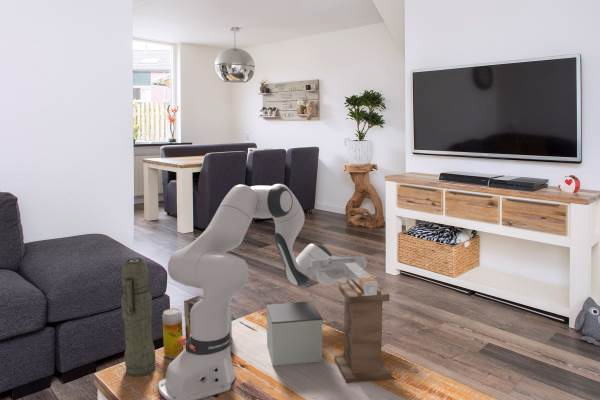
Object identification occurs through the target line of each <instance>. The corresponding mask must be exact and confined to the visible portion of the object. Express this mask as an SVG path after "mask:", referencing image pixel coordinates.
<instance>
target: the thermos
mask: <svg viewBox="0 0 600 400" xmlns="http://www.w3.org/2000/svg"><path fill="white" fill-rule="evenodd" d="M149 279H150V278H149V268H148V265H147V262H146V260H145V259H143V258H141V257H140V258H139V257H136V258H135V257H134V258H129V259H126V260H125V261H123V263H122V268H121V285H122V289H123V290H122V296H121V300H120V303H121V316H122V318H121V319H122V320H123V321H124V322H123V323H124V339H125V350H124V363H125V364H124V365H125V372H126V374H127V375H128V376H131V377H143V376H146V375H149V374H151V373H153V372H154V370H156V350H155V345H154V342H153V341H154V340H153V327H152V326H153V325H152V316H153V314H154V313H153V297H152V295H151V292H150V288H149V284H150V282H149V281H150V280H149Z"/></svg>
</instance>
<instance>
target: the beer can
mask: <svg viewBox="0 0 600 400" xmlns="http://www.w3.org/2000/svg"><path fill="white" fill-rule="evenodd" d="M182 317H183V315H182V312H181V310H180V309H179V308H168V309H165V310H164V311H163V314H162V317H161V318H162V332H163V333H162V335H163V337H162V338H163V352H164V356H166V358H169V359H175V358H176V357H177V356H178V355H179V354H180V353H181V352H182V351H183V350H184V345H182V344H181V343H179V339H180V337H182V336H183V335H184V334H183V318H182ZM183 337H184V336H183Z"/></svg>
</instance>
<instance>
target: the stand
mask: <svg viewBox="0 0 600 400" xmlns="http://www.w3.org/2000/svg"><path fill="white" fill-rule="evenodd" d="M338 291H339V292H340V294H341V295H342V296H343V297H344V314H343V315H344V318H343V319H344V322H343V324H344V327H343V330H344V331H343V339H344V340H343V354H339V355H334V359H333V361H334V362H335V364H336V367H337V368H338V370H339V372H340V373H341V376H342V377H343V380H344V382H345V384H352V383H362V382H371V381H379V380H390V379H392V378H393V377H392V376H393V375H392V374H393V373H392V372H391V371H390V370H389V368H388V366H387V365H386V364H385V362H384V361H383V359H382V341H383V340H382V339H383V338H382V334H383V302H389V301H390V293H389V292H388V291H386V290H385V289H384V287H383V286H382V285H380V284H379V283H378V282H377V295H371V296H363V295H362V292H361V291H360V290H359V288H358V287H357V286H356V285H355V284H354V283H353V282H352V281H351V280H350V279H347V278H346V282H342V283H338Z"/></svg>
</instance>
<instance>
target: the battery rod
mask: <svg viewBox="0 0 600 400" xmlns="http://www.w3.org/2000/svg"><path fill="white" fill-rule="evenodd" d="M344 276H345V278H346V280H347V279H350V280H351V281H352V282H353V283H354V284H355V285H356V286H357V287H358V288H359V290H360V291H361V292H362V295H363V296H371V295H377V283H378V281H377V279H376V278H374V276H372V275H370V273H368V272H367V271H366V270H365V269H362V268H361V267H360V266H359V265H358V264H357V263H356V262H354V263H344Z"/></svg>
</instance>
